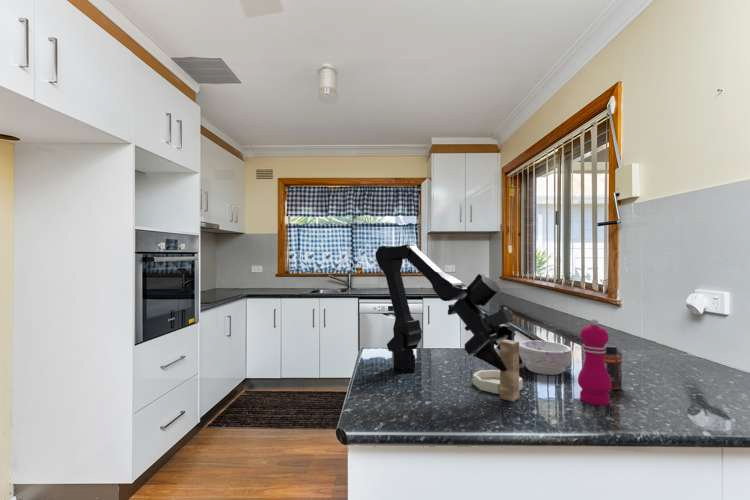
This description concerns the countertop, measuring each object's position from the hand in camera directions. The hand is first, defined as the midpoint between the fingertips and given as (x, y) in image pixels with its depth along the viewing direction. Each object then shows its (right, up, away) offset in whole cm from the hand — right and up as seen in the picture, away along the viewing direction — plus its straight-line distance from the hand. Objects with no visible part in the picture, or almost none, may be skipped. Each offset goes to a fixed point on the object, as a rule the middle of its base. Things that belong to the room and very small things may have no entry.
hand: (513, 366), depth 94 cm
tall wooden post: (-1, -8, +1) cm, 8 cm away
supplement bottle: (+29, -9, +9) cm, 32 cm away
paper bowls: (+18, -9, +24) cm, 32 cm away
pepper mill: (+19, -8, -1) cm, 21 cm away
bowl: (-1, -8, +10) cm, 13 cm away
